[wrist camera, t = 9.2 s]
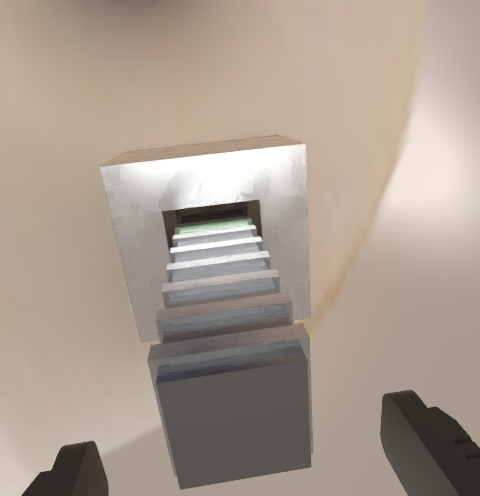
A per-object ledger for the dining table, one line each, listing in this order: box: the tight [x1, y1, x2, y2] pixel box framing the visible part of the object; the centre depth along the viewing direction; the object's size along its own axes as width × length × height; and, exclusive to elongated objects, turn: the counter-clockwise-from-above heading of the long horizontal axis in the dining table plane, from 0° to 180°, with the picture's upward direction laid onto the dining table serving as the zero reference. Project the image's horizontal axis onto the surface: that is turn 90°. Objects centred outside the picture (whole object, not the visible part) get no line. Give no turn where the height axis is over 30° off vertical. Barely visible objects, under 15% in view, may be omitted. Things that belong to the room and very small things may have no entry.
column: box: [148, 209, 313, 489], centre depth 18 cm, size 4×4×16 cm
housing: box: [100, 135, 311, 342], centre depth 27 cm, size 13×12×8 cm
